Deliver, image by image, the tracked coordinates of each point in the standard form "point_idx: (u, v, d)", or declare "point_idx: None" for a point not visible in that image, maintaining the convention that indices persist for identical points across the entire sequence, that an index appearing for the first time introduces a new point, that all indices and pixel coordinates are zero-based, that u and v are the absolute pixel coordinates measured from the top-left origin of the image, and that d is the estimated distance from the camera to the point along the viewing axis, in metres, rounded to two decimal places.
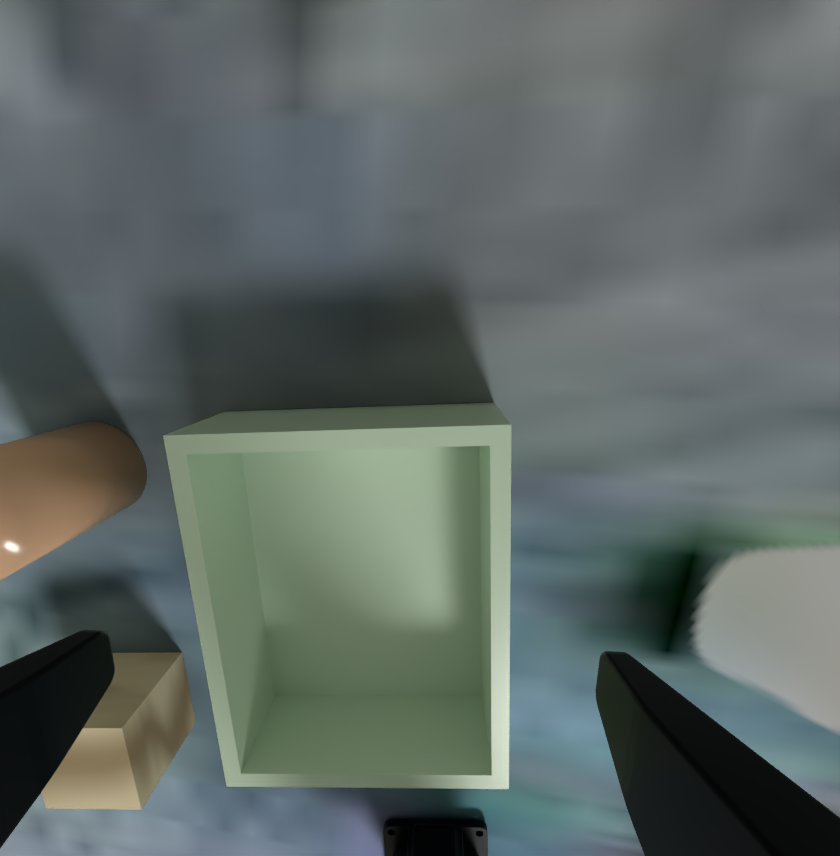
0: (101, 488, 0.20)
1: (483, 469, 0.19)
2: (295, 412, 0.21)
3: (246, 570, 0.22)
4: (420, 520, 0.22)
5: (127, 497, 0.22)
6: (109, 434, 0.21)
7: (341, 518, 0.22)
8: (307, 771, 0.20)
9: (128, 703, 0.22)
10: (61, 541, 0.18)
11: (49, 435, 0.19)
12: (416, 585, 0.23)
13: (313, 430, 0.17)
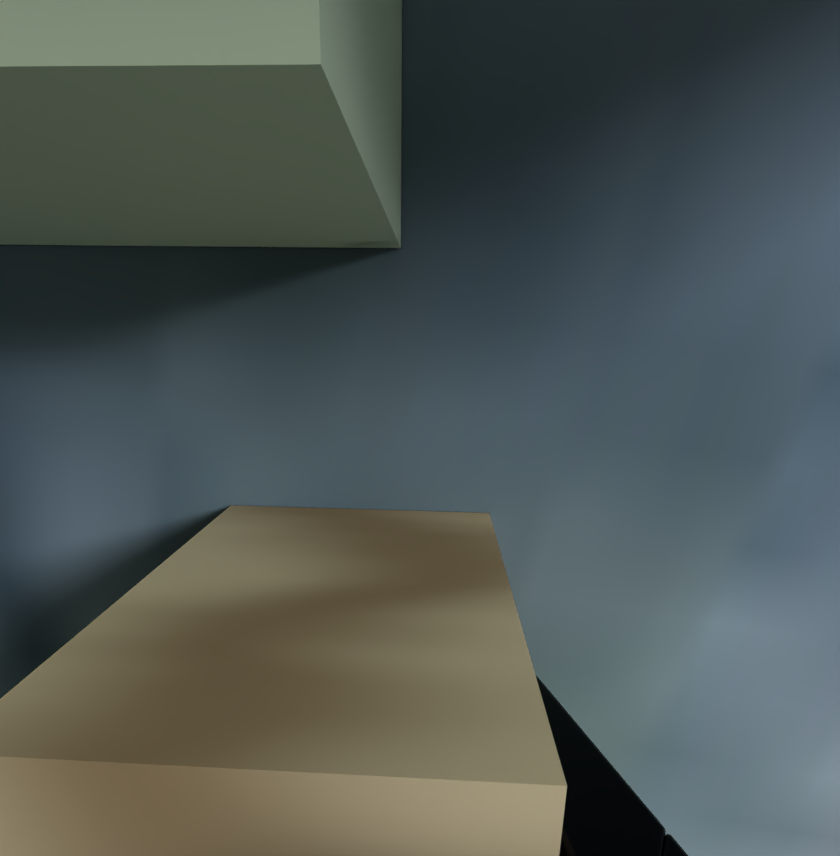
0: None
1: None
2: None
3: None
4: None
5: None
6: None
7: None
8: None
9: None
10: None
11: None
12: None
13: None
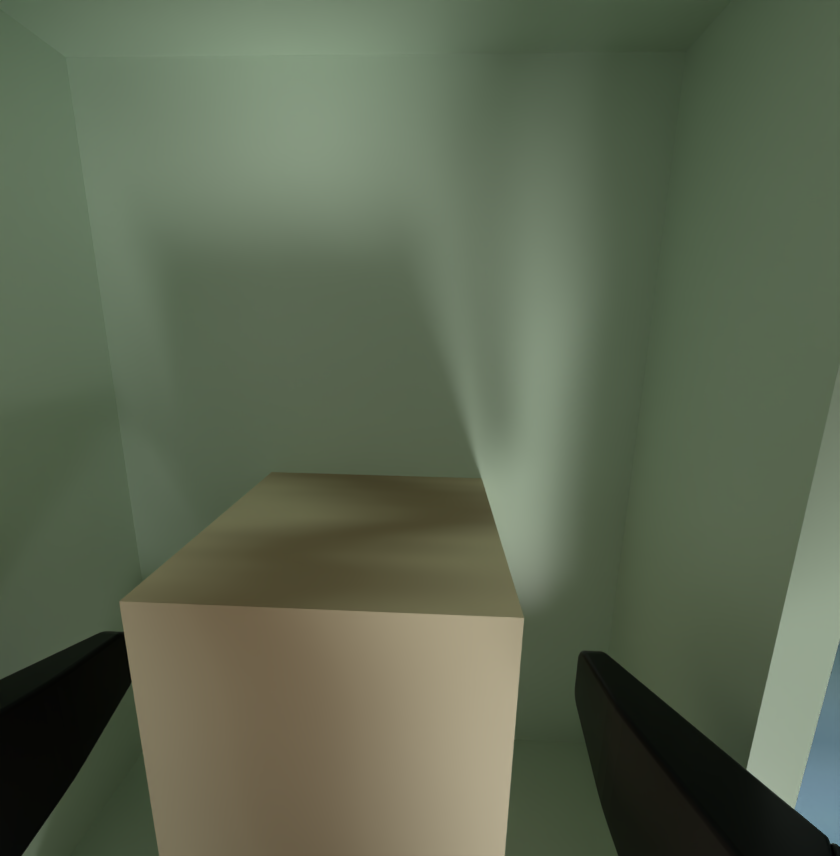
0: None
1: (742, 107, 0.06)
2: None
3: (76, 424, 0.09)
4: (504, 332, 0.09)
5: None
6: None
7: (317, 319, 0.09)
8: None
9: None
10: None
11: None
12: None
13: None
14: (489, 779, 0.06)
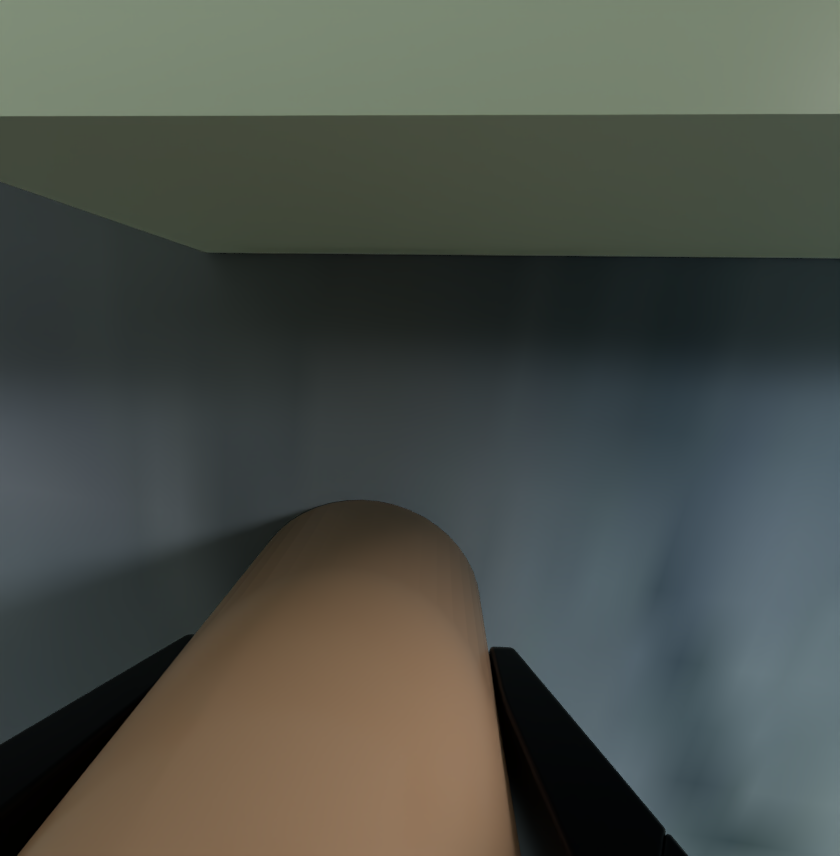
0: (328, 587, 0.06)
1: None
2: None
3: None
4: None
5: (420, 546, 0.07)
6: None
7: None
8: None
9: None
10: (459, 773, 0.04)
11: None
12: None
13: None
14: None
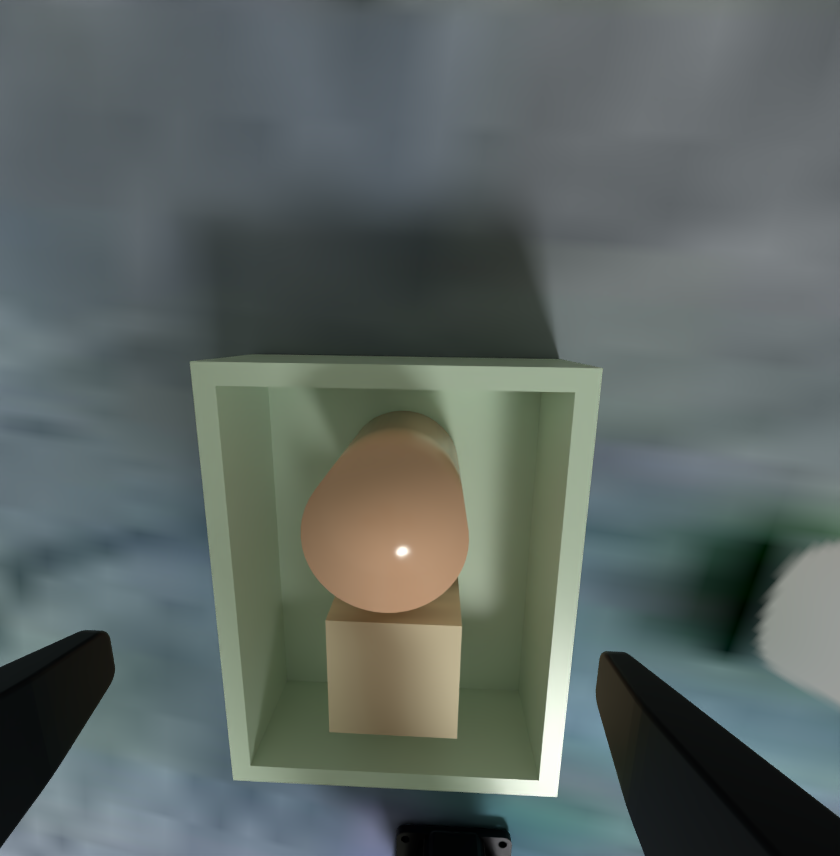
0: (397, 426, 0.16)
1: (550, 429, 0.17)
2: (335, 356, 0.18)
3: (267, 535, 0.19)
4: (466, 489, 0.20)
5: (429, 424, 0.18)
6: None
7: None
8: (327, 766, 0.18)
9: None
10: (443, 460, 0.14)
11: None
12: None
13: (368, 364, 0.14)
14: (451, 683, 0.16)
